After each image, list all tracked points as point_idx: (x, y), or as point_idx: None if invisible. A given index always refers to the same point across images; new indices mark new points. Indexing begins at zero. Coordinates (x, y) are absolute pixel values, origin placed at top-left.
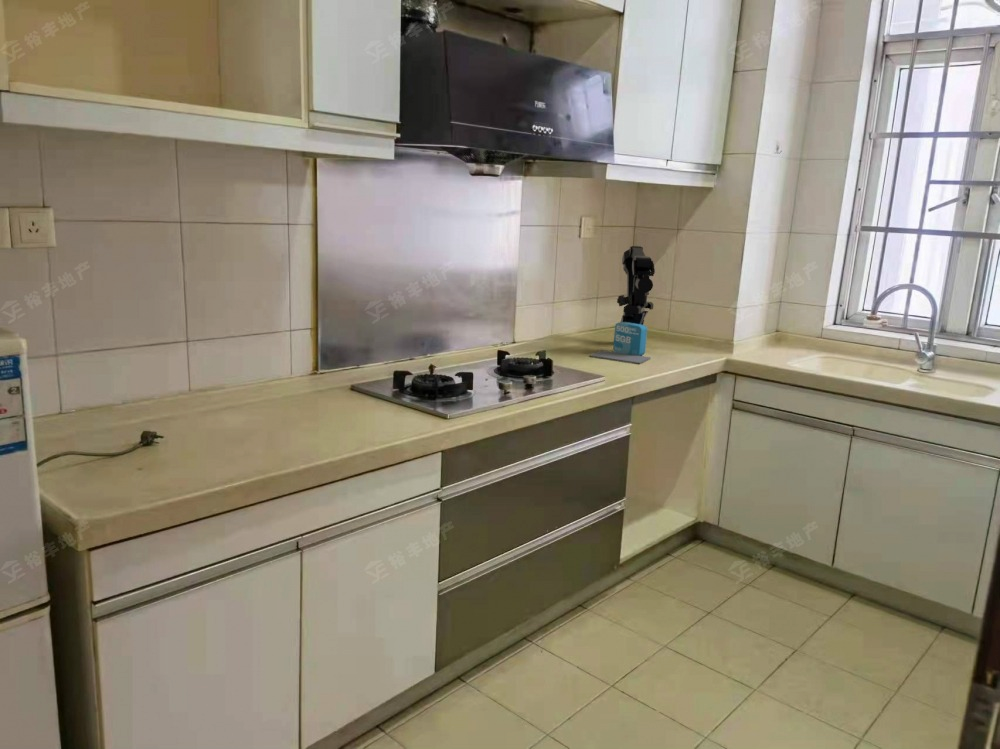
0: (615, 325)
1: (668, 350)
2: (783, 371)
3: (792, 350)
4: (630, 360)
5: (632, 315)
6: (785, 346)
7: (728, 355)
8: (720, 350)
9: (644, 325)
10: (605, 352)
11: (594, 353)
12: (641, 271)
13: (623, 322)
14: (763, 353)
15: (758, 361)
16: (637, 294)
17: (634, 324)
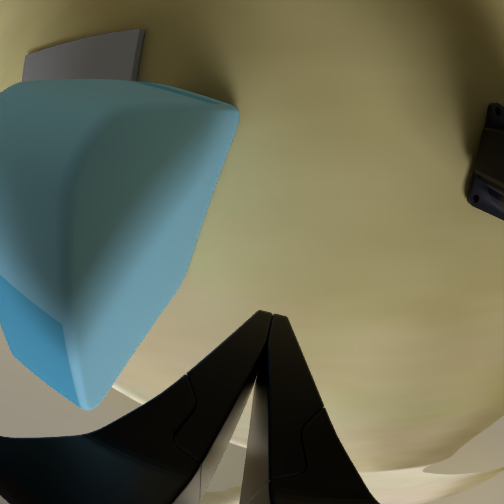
0: (9, 92)
1: (394, 370)
2: (228, 489)
3: (433, 493)
4: None
5: (81, 435)
6: (466, 483)
7: (356, 469)
8: (423, 455)
9: (78, 405)
10: (95, 73)
11: (54, 48)
12: None
13: (7, 199)
14: (399, 488)
15: None
16: None
17: (24, 336)
